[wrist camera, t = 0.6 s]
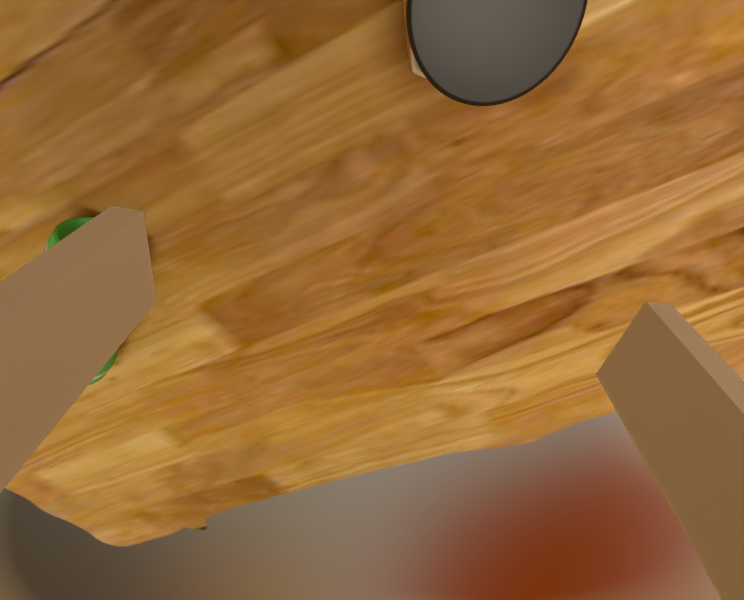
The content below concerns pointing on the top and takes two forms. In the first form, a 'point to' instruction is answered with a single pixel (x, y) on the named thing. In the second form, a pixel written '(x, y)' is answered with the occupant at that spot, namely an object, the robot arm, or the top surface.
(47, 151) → the top surface
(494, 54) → the jar
